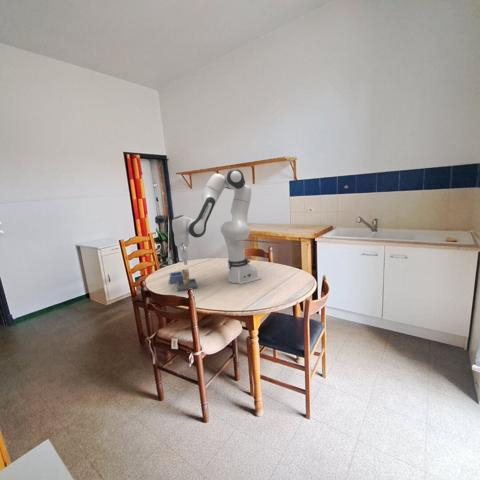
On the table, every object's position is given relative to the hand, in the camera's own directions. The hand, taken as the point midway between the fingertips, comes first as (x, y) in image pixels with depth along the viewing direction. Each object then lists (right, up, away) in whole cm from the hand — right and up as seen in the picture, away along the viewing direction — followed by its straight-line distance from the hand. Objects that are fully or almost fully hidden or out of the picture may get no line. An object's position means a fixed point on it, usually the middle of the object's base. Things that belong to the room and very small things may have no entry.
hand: (185, 262), depth 166 cm
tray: (+1, -16, +3) cm, 16 cm away
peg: (+1, -15, +3) cm, 15 cm away
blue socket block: (-9, -14, +15) cm, 22 cm away
